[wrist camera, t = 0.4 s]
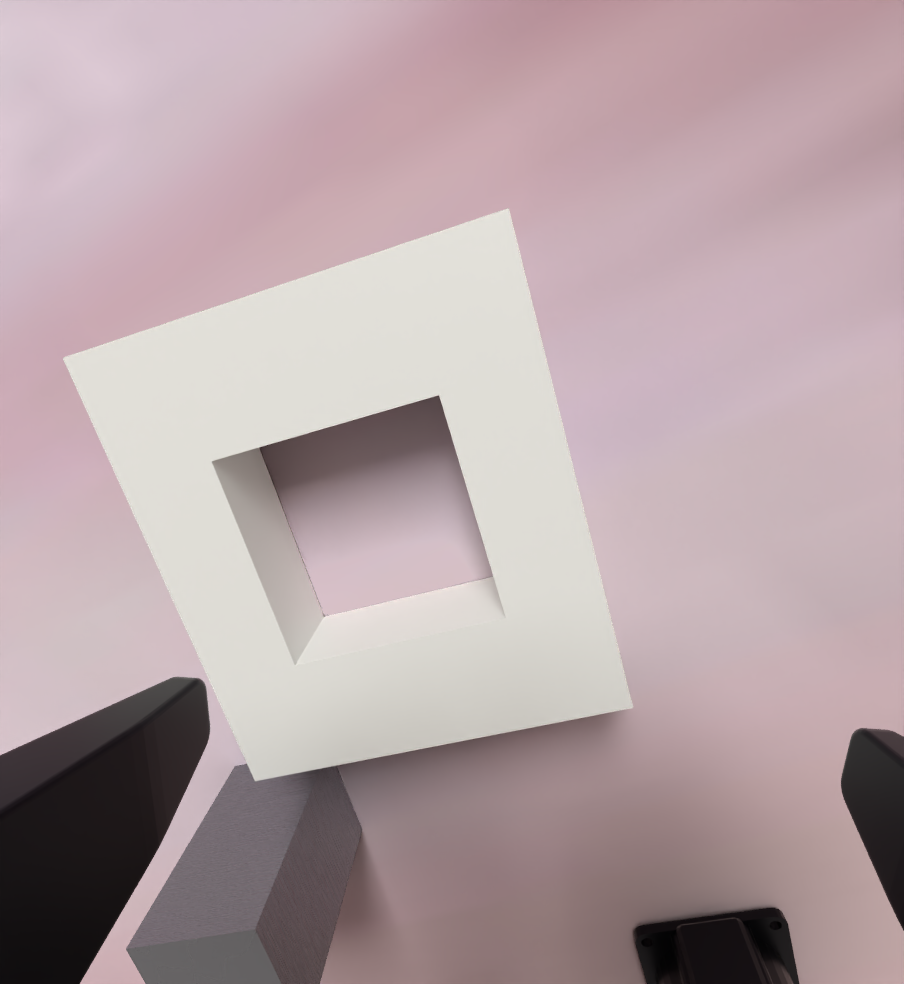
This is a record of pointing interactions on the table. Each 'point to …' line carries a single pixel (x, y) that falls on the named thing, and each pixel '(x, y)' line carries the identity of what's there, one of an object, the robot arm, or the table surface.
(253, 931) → the dark grey square post
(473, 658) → the square frame
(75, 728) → the robot arm
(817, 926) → the table surface
